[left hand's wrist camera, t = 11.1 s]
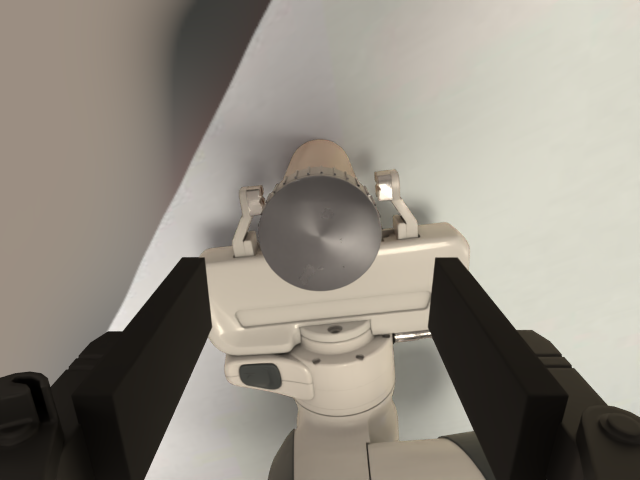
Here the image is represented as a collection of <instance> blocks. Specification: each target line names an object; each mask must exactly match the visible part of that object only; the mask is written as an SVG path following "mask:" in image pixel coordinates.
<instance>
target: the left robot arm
mask: <svg viewBox="0 0 640 480" xmlns="http://www.w3.org/2000/svg"><path fill="white" fill-rule="evenodd" d="M211 329H212V319H211V310H210V301H209V291H208V282H207V273H206V264H205V257H182V258H181V260H180V261H179V262H178V263H177V265H176V266H175V267H174V268H173V270H172V271H171V272H170V273H169V275H168V276H167V277H166V278H165V279H164V281H163V282H162V283H161V284H160V286H159V287H158V288H157V289H156V291H155V292H154V293H153V294H152V296H151V297H150V298H149V299H148V301H147V302H146V303H145V304H144V306H143V307H142V308H141V309H140V311H139V312H138V313H137V314H136V315H135V317H134V318H133V319H132V320H131V322H130V323H129V324H128V325H127V327H126V328H125V329H124V330H123V331H108V332H106V333H105V334H103V335H102V336H100V337H99V338H97V339H95V340H94V341H92V342H91V343H90V344H89V345H88V346H87V347H86V348H85V349H84V350H83V351H82V353H81V354H80V355H79V358H77V359H75V360H74V362H73V363H72V364H71V365H70V366H69V369H68V370H65V372H64V373H63V374H62V375H61V376H60V377H59V378H58V379H57V381H56V382H55V383H54V384H53V385H52V386H51V387H50V384H49V381H48V378H47V377H45V376H44V375H43V374H41V373H36V372H22V373H15V374H11V375H8V376H5V377H1V378H0V480H144V479H145V477H146V474H147V472H148V470H149V468H150V465H151V463H152V461H153V459H154V456H155V454H156V452H157V450H158V448H159V445H160V443H161V441H162V439H163V436H164V434H165V432H166V430H167V427H168V425H169V423H170V421H171V418H172V416H173V414H174V412H175V410H176V407H177V405H178V403H179V401H180V398H181V396H182V394H183V392H184V389H185V387H186V385H187V383H188V380H189V378H190V376H191V374H192V371H193V369H194V367H195V365H196V363H197V360H198V358H199V356H200V354H201V351H202V349H203V347H204V345H205V342H206V340H207V338H208V336H209V333H210V331H211ZM428 329H429V331H430V333H431V336H432V338H433V340H434V342H435V345H436V347H437V349H438V351H439V354H440V356H441V358H442V360H443V363H444V365H445V367H446V369H447V372H448V374H449V376H450V378H451V380H452V383H453V385H454V387H455V389H456V392H457V394H458V396H459V398H460V401H461V403H462V405H463V407H464V410H465V412H466V414H467V416H468V418H469V421H470V423H471V425H472V427H473V430H474V432H475V434H476V436H477V439H478V441H479V443H480V445H481V448H482V450H483V452H484V454H485V456H486V459H487V461H488V463H489V465H490V468H491V470H492V472H493V474H494V477H495V479H496V480H640V417H638V416H637V415H635V414H633V413H631V412H629V411H626V410H623V409H620V408H617V407H613V406H608V405H607V404H606V403H605V402H604V401H603V400H602V398H601V397H600V396H599V395H598V394H597V393H596V392H595V391H594V390H593V389H592V387H591V386H590V385H589V384H588V383H587V382H586V381H585V380H584V379H583V377H582V376H581V375H580V374H579V373H578V372H577V371H576V370H575V369H574V368H572V365H571V364H570V363H569V362H568V361H567V360H566V359H565V357H562V354H561V353H560V352H559V351H558V350H557V349H556V347H555V346H554V345H553V344H552V343H551V342H550V341H549V340H547V339H545V338H544V337H542V336H541V335H539V334H538V333H536V332H534V331H533V330H516V329H515V328H514V327H513V325H512V324H511V323H510V322H509V320H508V319H507V318H506V317H505V315H504V314H503V313H502V312H501V311H500V309H499V308H498V307H497V306H496V304H495V303H494V302H493V301H492V299H491V298H490V297H489V296H488V294H487V293H486V292H485V291H484V289H483V288H482V287H481V286H480V284H479V283H478V282H477V281H476V279H475V278H474V277H473V276H472V275H471V273H470V272H469V271H468V270H467V268H466V267H465V266H464V265H463V263H462V262H461V261H460V260H459V258H458V257H435V264H434V273H433V282H432V291H431V301H430V310H429V319H428Z"/></svg>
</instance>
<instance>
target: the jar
mask: <svg viewBox="0 0 640 480" xmlns="http://www.w3.org/2000/svg"><path fill="white" fill-rule="evenodd" d="M321 165H322V166H323V167H328V168H333V167H335V169H337V170H340V171H343V172H345V171H346V172H347V174H349V175H350V176H352V177H353V178H356V176H355V173H354V171H353V168H352V166H351V163H350V161H349V158H348V156H347V154H346V153H345V151H344V150H343V149H342V148H341V147H340V146H339V145H337V144H336V143H334V142H332V141H329V140H324V139H316V140H311V141H308V142H306V143H304V144H303V145H301V146H300V147H299V148H298V149H297V150H296V151H295V153H294V154H293V156H292V158H291V161H290V163H289V166H288V168H287V171H286V173H285V176H290V175H291V174H293V173H295V172H296V170H298V171H300V170H303V169H307V168H308V167H309V166H310V168H312V167H320V166H321ZM285 176H284V178H285ZM284 178H283V180H284Z"/></svg>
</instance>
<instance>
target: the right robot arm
mask: <svg viewBox="0 0 640 480" xmlns="http://www.w3.org/2000/svg"><path fill="white" fill-rule="evenodd" d="M374 178H375V181H376V185H375V192H376V196H377V197H378V200H379V201H385V200H391V202H392V203H393V205H394V206H395V207H396V209H397V210H398V212H399V213H400V215H401V216H400V215H399V214H398V215H394V216H393V228H388V229H382V235H381V244H380V248H379V251H378V254H377V256H376V258H375V260H374V262H373V264H372V265H371V267H370V268H369V269H368V270H367V271H366V272H365V273H364V274H363V275H362V276H361V277H360V278H359V279H357V280H356V281H354V282H353V283H351V284H349V285H347V286H344V287H342V288H339V289H335V290H330V291H309V290H305V289H301V288H298V287H295V286H293V285H291V284H289V283H287V282H286V281H284V280H283V279H281V278H280V277H279V276H278V275H277V274H276V273H275V272H274V271H273V270H272V269H271V268H270V266H269V265H268V264H267V262H266V260H265V258H264V256H263V254H262V251H261V249H260V244H259V243H258V242H257V237H256V232H255V231H249V232H248V228H249V226H250V223H251V221H252V218H253V216H254V215H261V214H260V213H261V211H262V209H263V207H264V205H265V204H266V203H265V202H266V201H265V198H264V197H263V194H264V190H263V186H262V185H258V186H247V187H242V188H241V189H240V190H239V199H240V204H241V209H242V217H241V219H240V222H239V224H238V227H237V230H236V232H235V235H234V238H233V240H232V246H226V247H217V248H209V249H206V250H205V251H204V252H203V253H202V254H201V255H200V256H199V257H205V264H206V273H207V282H208V291H209V301H210V310H211V319H212V329H211V331H210V333H209V336H208V338H209V339H210V341H211V342H212V344H213V345H214V346H215V347H216V348H217V349H219V350H220V351H222V352H224V353H226V359H225V366H224V371H225V376H226V379H227V380H228V382H229V383H231V384H233V385H236V386H241V387H247V388H253V389H259V390H265V391H270V392H274V393H279V394H282V395H286V396H289V397H293V398H294V400H295V402H296V404H297V406H298V415H297V429H293V430H292V431H291V432H290V434H289V435H288V436H287V438H286V439H285V441H284V442H283V444H282V446H281V447H280V449H279V451H278V452H277V454H276V456H275V458H274V460H273V462H272V465H271V468H270V472H269V476H268V480H496V479H495V477H494V474H493V472H492V470H491V468H490V465H489V463H488V461H487V459H486V456H485V454H484V452H483V450H482V448H481V445H480V443H479V441H478V439H477V436H476V434H475V432H474V431H471V432H465V433H459V434H453V435H446V436H441V437H439V438H437V439H425V440H410V441H399V431H398V416H397V411H396V407H395V405H394V402H393V400H392V395H393V392H394V388H395V366H394V352H393V344H394V343H396V342H406V341H414V340H419V339H423V338H432V336H431V333H430V331H429V329H428V319H429V310H430V301H431V291H432V282H433V273H434V264H435V257H458V258H459V260H460V261H461V262H462V263H463V265H464V266H465V267H466V268H467V270H469V260H470V247H469V244H468V242H467V240H466V239H465V237H464V236H463V235H462V234H461V233H460V232H459V231H458V230H457V229H455V228H454V227H453V226H452V225H451V224H449V223H446V222H441V223H433V224H424V225H418V223H417V220H416V219H415V217H414V216H413V214H412V213H411V211H410V210H409V208H408V207H407V206H406V204H405V203H404V201H403V200H402V198H401V197H400V187H399V175H398V172H397V171H396V170H395V169H393V170H385V171H377V172H374Z"/></svg>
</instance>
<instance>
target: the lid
mask: <svg viewBox="0 0 640 480" xmlns="http://www.w3.org/2000/svg"><path fill="white" fill-rule="evenodd" d="M265 203H266V204H265V205H264V207H263V209H262V211H261V213H260V214H261V218H260V222H259V224H258V227H259V231H258V236H259V237H258V238H259V244H260V249H261V251H262V254H263V256H264V258H265V260H266V262H267V264H268V265H269V266H270V268H271V269H272V270H273V271H274V272H275V273H276V274H277V275H278V276H279V277H280V278H281V279H283V280H284V281H286V282H287V283H289V284H291V285H293V286H295V287H298V288H301V289H305V290H309V291H330V290H335V289H339V288H342V287H344V286H347V285H349V284H351V283H353V282H354V281H356V280H357V279H359V278H360V277H361V276H362V275H363V274H364V273H365V272H366V271H367V270H368V269H369V268H370V267H371V265H372V264H373V262H374V260H375V258H376V256H377V254H378V251H379V248H380V244H381V235H382V227H381V223H380V214H379V212H378V210H377V208H376V207H375V206H376V204H375V202H374V200H373V197H372V196H370V195H369V193H368V191H367V188H366V187H365V186H364V187H363V185H362V184H360V183H359V181H358V179H357V178H353V177H352V176H350V175H349V174H347V172H346V171H345V172H343V171H340V170H337V169H335V167H333V168H328V167H323V166H322V165H321V166H320V167H312V168H310V166H309V167H308V168H307V169H303V170H300V171H298V170H296V172H295V173H293V174H291V175H290V176H285V178H284V180H283V181H281V182H280V183H279V184H278V183H277V184H276V186H275V188H274V190H273V192H272V193H270V194H269V196H268V198H267V200H266V202H265Z"/></svg>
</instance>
